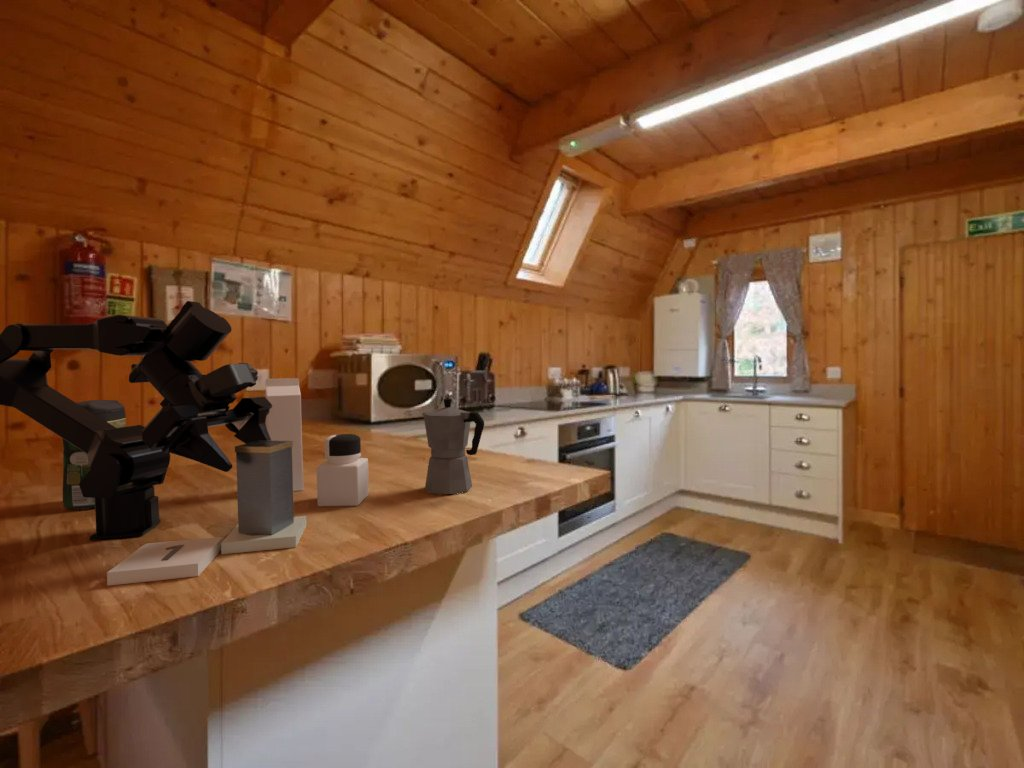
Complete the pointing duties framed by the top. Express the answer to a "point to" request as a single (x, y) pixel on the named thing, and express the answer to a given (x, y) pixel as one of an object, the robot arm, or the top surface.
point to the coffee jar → (78, 459)
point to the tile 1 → (165, 561)
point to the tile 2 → (264, 539)
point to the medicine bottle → (342, 472)
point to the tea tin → (264, 486)
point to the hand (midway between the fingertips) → (253, 462)
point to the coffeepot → (450, 448)
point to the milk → (286, 420)
